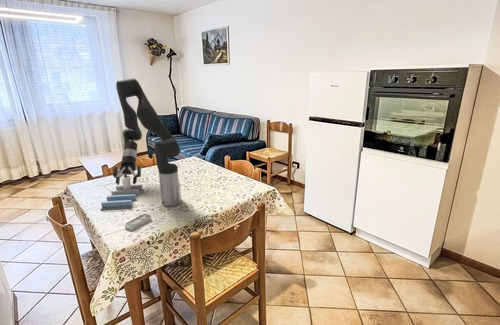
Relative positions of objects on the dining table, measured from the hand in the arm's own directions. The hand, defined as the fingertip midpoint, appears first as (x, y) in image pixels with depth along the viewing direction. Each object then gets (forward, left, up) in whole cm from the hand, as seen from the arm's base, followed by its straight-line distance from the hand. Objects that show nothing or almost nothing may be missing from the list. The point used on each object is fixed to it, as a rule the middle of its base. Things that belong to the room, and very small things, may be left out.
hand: (125, 183), depth 148 cm
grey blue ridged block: (0, +6, -6) cm, 9 cm away
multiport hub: (-15, +34, -7) cm, 37 cm away
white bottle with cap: (0, -1, -5) cm, 5 cm away
